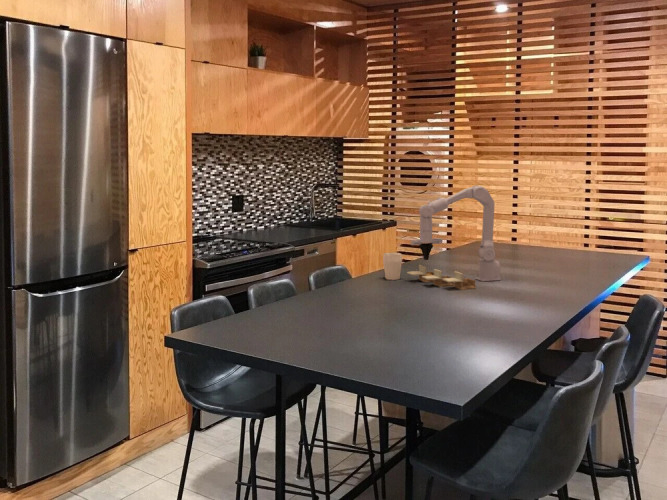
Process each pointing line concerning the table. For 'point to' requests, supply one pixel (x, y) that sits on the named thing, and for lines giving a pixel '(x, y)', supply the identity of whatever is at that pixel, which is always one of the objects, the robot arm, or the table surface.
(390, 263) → the cup
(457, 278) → the lid
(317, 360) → the table surface
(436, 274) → the lid
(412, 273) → the lid
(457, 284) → the crates
